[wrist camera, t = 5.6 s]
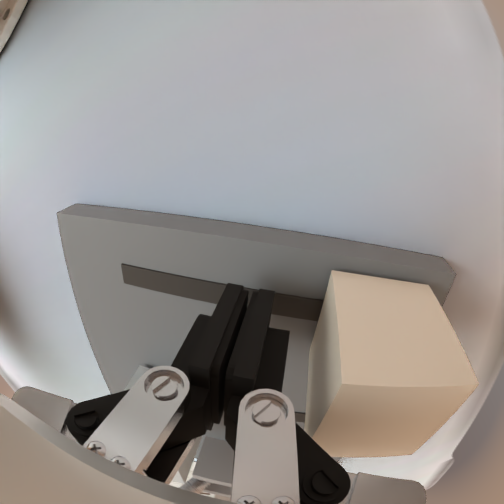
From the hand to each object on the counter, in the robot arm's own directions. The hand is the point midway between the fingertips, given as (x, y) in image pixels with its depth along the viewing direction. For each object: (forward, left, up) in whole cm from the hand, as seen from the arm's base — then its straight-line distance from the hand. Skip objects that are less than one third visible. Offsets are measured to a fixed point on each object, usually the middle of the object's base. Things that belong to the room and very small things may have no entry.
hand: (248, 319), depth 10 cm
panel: (+8, -1, -3) cm, 9 cm away
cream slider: (0, +5, -1) cm, 5 cm away
